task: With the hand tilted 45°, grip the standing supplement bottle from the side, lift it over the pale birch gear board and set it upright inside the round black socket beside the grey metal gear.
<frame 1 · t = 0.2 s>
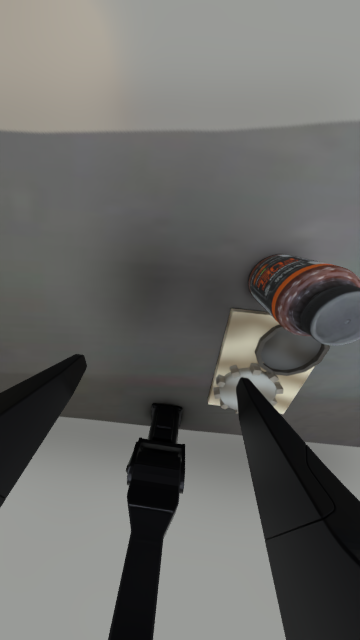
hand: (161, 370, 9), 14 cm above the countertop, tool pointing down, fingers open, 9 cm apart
gear board: (260, 366, 27), on the countertop
supplement bottle: (270, 278, 20), on the countertop
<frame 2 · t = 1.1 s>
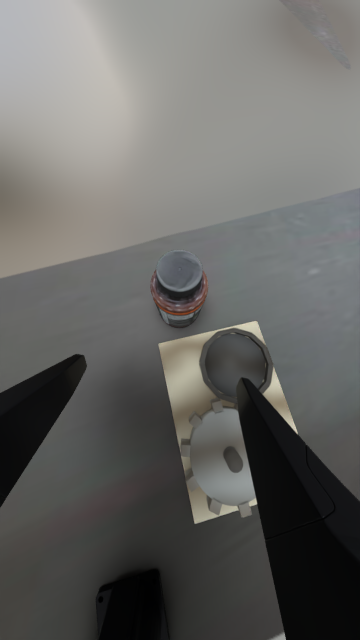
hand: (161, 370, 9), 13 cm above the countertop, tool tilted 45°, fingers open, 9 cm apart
gear board: (227, 405, 21), on the countertop
supplement bottle: (179, 310, 24), on the countertop
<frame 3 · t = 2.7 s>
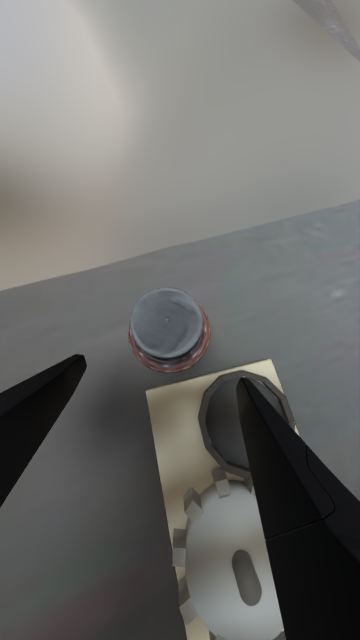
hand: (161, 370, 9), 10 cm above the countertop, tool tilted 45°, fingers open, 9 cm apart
gear board: (235, 474, 16), on the countertop
supplement bottle: (173, 343, 20), on the countertop
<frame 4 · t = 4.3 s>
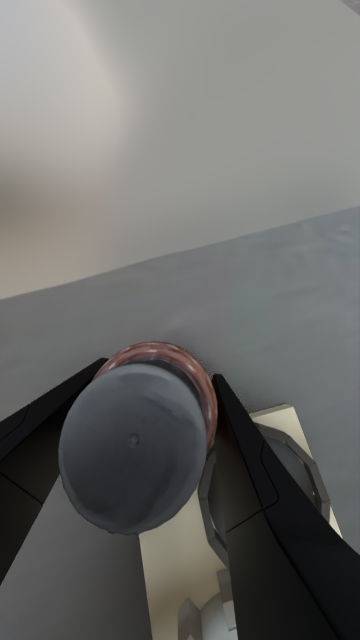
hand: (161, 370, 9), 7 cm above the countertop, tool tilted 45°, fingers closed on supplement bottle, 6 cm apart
gear board: (248, 570, 12), on the countertop
supplement bottle: (165, 381, 15), on the countertop, touching gripper
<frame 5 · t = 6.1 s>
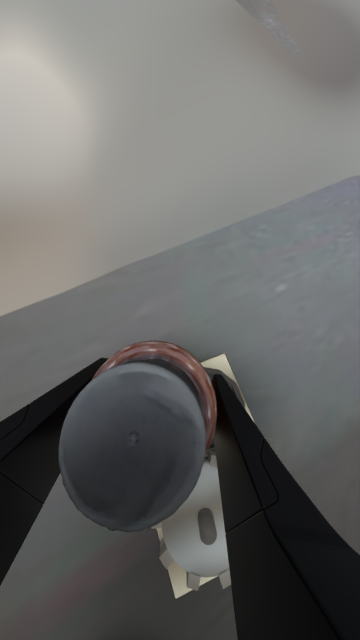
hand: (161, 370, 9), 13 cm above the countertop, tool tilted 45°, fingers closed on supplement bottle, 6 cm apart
gear board: (202, 452, 19), on the countertop
supplement bottle: (165, 380, 15), point 6 cm above the countertop, touching gripper
when the fingers open (9 cm above the countertop, at t = 8.0 s): supplement bottle stays where it is, resting on gear board.
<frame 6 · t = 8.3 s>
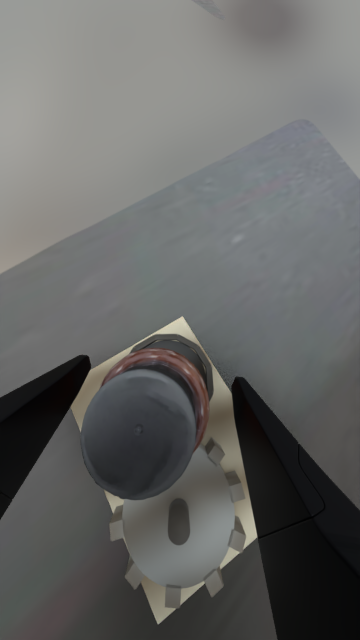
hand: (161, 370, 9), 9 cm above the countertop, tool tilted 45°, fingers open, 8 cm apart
gear board: (173, 434, 16), on the countertop
supplement bottle: (166, 381, 16), point 1 cm above the countertop, touching gear board
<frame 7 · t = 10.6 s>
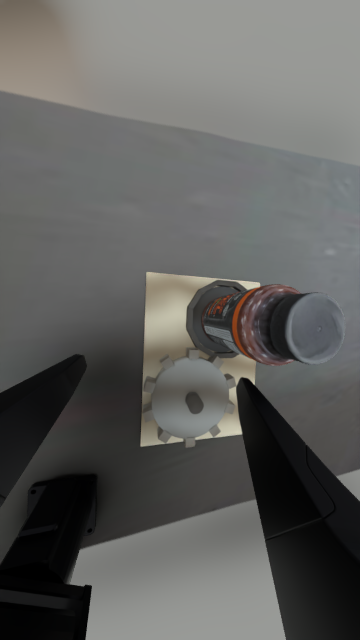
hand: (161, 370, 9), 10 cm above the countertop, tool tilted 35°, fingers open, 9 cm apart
gear board: (201, 357, 20), on the countertop
supplement bottle: (221, 320, 20), point 1 cm above the countertop, touching gear board
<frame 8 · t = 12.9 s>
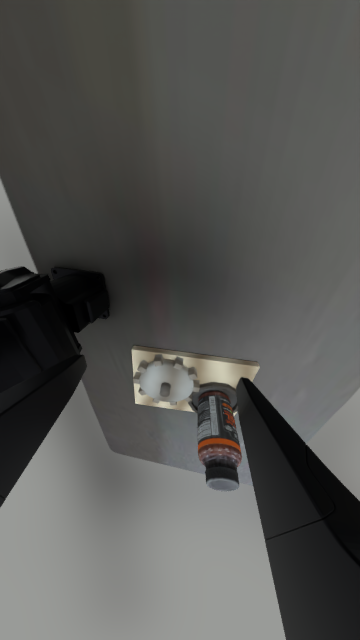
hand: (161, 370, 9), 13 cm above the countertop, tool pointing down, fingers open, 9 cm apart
gear board: (189, 383, 29), on the countertop
supplement bottle: (213, 398, 29), point 1 cm above the countertop, touching gear board
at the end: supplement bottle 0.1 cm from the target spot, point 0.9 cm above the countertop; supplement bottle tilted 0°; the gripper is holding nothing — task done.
